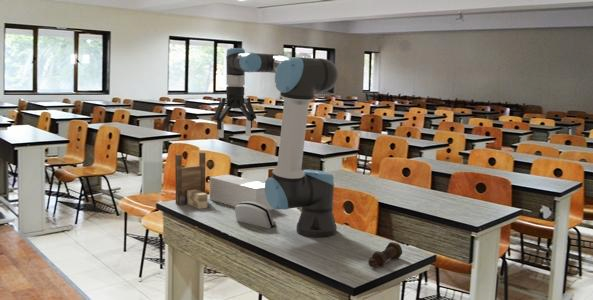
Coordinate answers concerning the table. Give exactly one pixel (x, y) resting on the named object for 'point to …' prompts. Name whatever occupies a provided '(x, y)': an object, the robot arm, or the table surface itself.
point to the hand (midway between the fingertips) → (234, 136)
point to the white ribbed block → (237, 190)
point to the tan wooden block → (196, 198)
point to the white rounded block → (254, 214)
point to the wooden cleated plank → (189, 177)
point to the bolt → (385, 255)
